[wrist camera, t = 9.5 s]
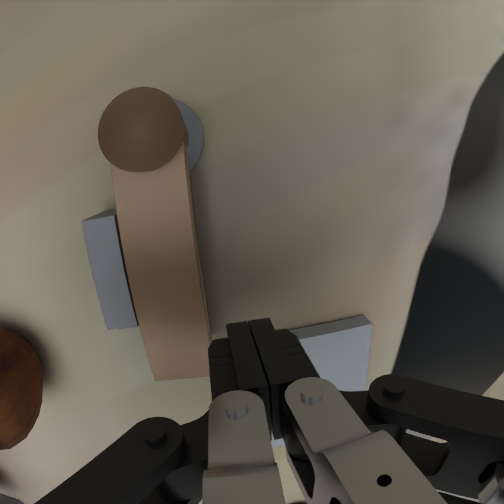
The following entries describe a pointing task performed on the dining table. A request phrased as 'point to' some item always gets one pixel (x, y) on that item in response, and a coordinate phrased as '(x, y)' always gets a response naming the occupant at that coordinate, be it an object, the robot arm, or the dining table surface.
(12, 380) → the wooden figurine
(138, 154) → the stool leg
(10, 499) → the toaster tray
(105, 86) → the dining table surface
